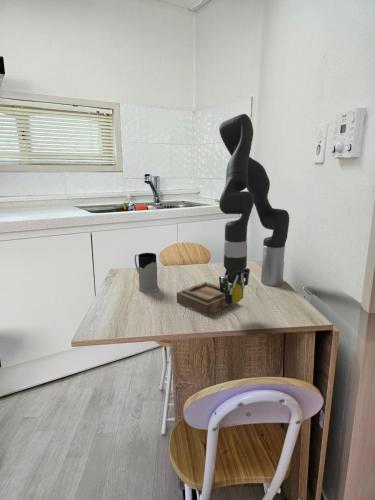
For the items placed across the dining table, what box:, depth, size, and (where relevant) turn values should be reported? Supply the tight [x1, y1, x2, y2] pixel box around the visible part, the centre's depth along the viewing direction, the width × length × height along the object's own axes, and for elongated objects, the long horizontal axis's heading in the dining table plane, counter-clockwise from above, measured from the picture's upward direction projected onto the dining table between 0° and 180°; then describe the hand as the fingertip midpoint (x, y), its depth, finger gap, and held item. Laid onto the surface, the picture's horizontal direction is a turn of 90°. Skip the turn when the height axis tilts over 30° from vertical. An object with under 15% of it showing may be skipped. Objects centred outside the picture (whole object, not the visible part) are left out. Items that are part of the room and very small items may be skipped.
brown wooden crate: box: [176, 281, 234, 316], centre depth 119 cm, size 16×16×5 cm
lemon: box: [228, 283, 244, 305], centre depth 105 cm, size 6×6×8 cm
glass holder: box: [134, 252, 159, 293], centre depth 134 cm, size 9×14×15 cm, turn 41°
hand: (234, 300), depth 105 cm, fingers closed on lemon, 5 cm apart
